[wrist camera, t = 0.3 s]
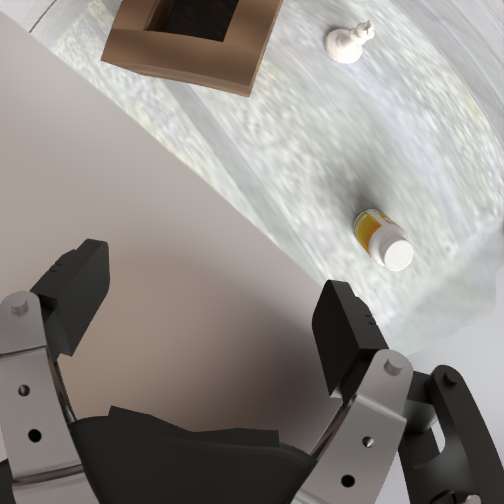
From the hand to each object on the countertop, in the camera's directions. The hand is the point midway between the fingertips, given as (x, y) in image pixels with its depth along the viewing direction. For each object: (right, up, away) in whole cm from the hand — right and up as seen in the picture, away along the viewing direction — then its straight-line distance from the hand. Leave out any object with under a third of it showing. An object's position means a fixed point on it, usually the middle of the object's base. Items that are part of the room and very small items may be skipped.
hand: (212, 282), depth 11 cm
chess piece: (+13, +27, +19) cm, 36 cm away
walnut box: (-4, +28, +19) cm, 33 cm away
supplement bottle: (+18, +5, +30) cm, 35 cm away
